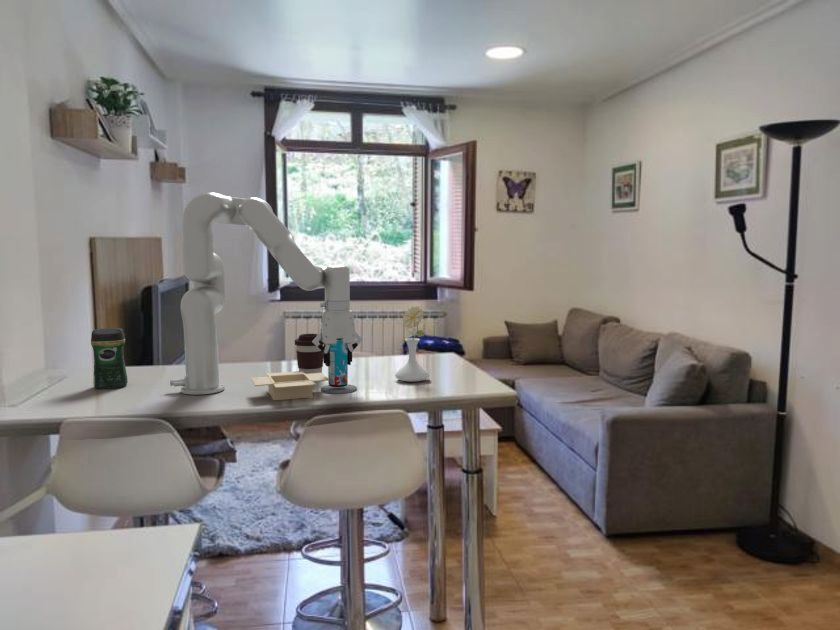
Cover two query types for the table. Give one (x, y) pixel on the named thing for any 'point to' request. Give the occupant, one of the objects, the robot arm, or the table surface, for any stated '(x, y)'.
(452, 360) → the table surface
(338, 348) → the beverage can
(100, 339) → the coffee jar
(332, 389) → the coaster
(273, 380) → the carton
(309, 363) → the coffee cup
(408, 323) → the flower in vase
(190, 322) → the robot arm
